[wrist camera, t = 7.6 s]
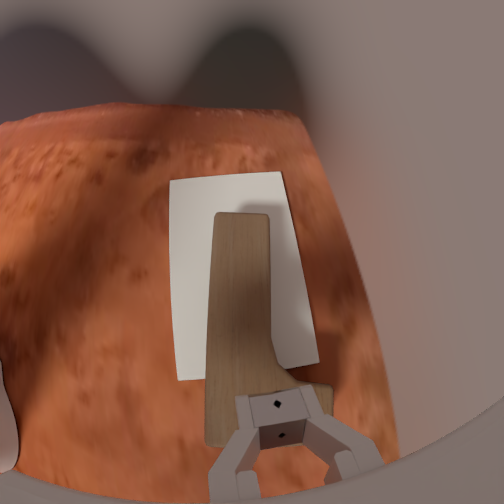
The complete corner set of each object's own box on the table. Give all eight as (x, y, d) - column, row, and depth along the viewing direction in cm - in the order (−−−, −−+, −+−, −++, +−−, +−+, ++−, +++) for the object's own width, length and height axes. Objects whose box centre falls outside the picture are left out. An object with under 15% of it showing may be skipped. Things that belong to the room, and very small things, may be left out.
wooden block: (316, 432, 20) (310, 238, 28) (334, 443, 16) (323, 215, 23) (209, 434, 20) (216, 235, 27) (204, 447, 16) (214, 209, 23)
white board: (317, 362, 23) (319, 362, 23) (179, 380, 22) (178, 380, 22) (279, 174, 31) (280, 171, 31) (170, 183, 30) (169, 180, 29)
